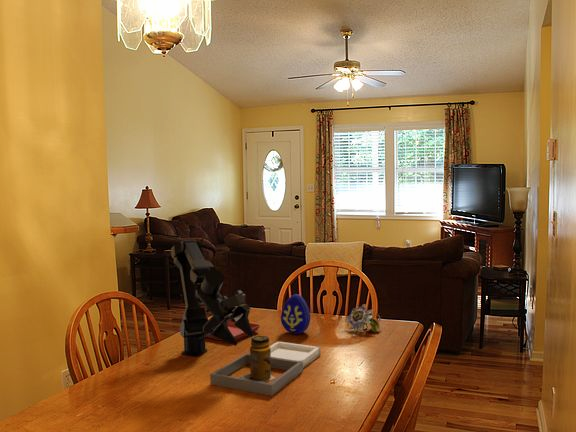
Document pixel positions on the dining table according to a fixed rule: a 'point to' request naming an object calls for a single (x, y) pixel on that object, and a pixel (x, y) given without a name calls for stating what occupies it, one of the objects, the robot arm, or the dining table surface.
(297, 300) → the ornament
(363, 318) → the passion flower
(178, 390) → the dining table surface
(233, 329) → the plant saucer
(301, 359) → the tray
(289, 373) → the gray square frame
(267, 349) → the condiment
